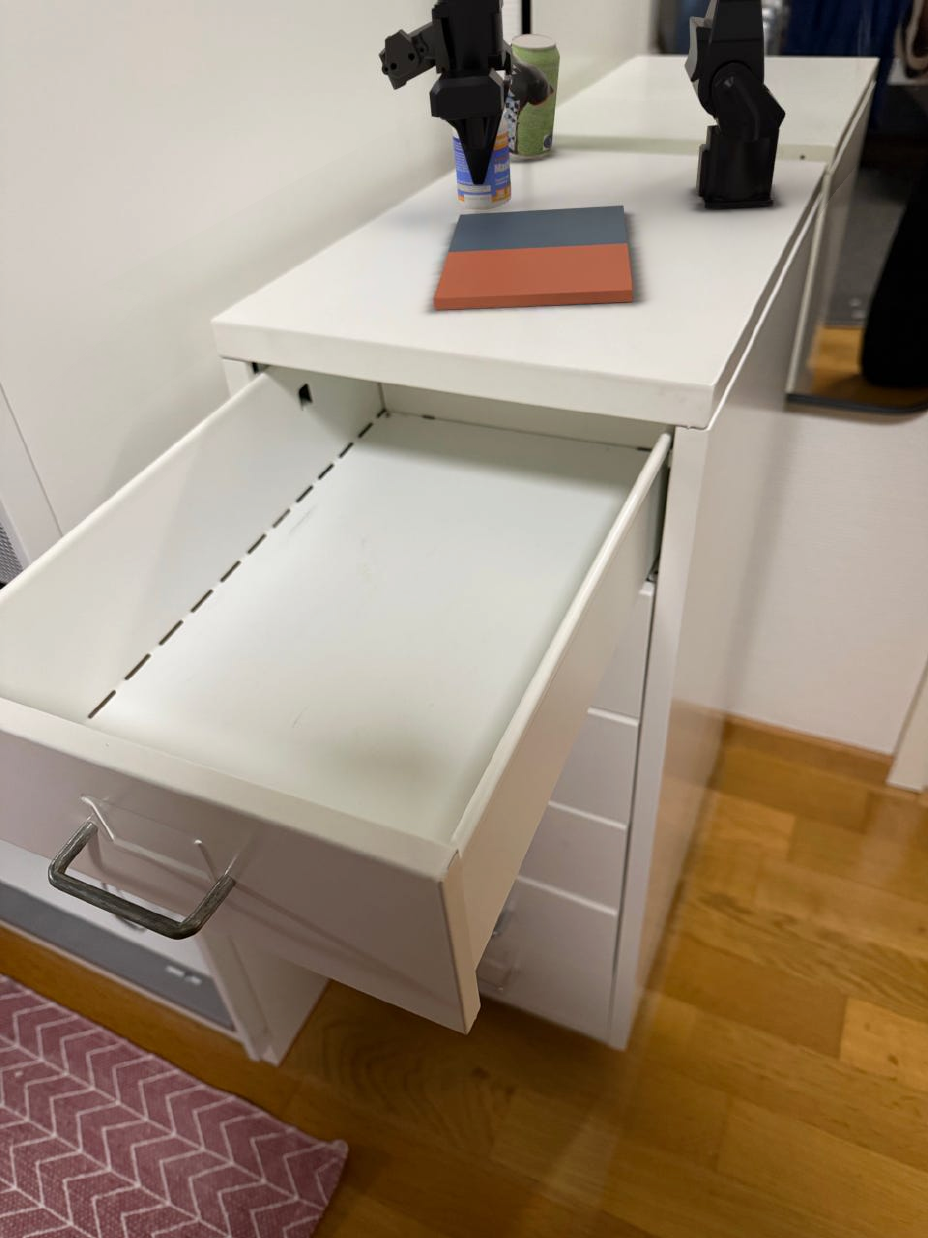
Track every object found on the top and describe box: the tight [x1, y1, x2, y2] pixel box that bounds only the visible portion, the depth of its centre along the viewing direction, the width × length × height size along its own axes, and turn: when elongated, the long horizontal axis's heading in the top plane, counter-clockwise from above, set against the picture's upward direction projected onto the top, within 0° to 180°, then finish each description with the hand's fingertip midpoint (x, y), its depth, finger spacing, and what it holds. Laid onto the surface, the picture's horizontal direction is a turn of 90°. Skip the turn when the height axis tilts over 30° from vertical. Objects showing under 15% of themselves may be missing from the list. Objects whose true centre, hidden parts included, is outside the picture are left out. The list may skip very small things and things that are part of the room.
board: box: [433, 205, 634, 311], centre depth 78 cm, size 16×21×1 cm
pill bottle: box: [452, 116, 512, 210], centre depth 86 cm, size 5×5×10 cm
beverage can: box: [502, 33, 561, 160], centre depth 100 cm, size 6×7×12 cm
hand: (481, 175), depth 88 cm, fingers closed on pill bottle, 5 cm apart
